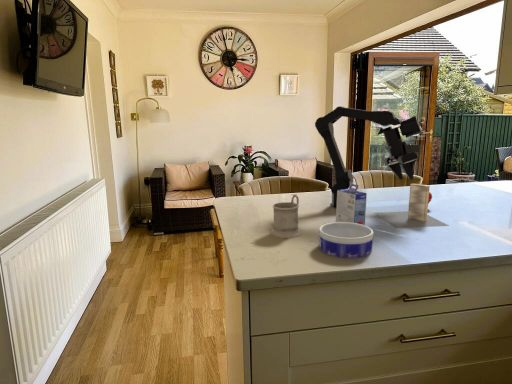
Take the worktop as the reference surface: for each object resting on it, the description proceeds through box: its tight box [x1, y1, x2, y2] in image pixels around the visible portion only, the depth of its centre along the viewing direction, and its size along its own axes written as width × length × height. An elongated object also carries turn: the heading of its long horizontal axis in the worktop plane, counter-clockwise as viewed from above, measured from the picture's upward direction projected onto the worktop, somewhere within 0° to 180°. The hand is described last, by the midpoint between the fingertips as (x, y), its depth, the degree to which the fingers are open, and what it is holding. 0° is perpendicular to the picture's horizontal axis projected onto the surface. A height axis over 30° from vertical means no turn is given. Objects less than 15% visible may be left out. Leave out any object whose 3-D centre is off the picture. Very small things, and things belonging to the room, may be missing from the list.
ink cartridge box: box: [335, 183, 368, 226], centre depth 127 cm, size 10×6×14 cm, turn 27°
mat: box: [373, 210, 450, 229], centre depth 133 cm, size 19×20×1 cm
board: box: [408, 183, 430, 222], centre depth 130 cm, size 6×2×13 cm, turn 43°
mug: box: [270, 193, 302, 239], centre depth 121 cm, size 14×10×12 cm
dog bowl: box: [318, 221, 374, 259], centre depth 105 cm, size 15×15×6 cm
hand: (406, 179), depth 140 cm, fingers open, 9 cm apart
